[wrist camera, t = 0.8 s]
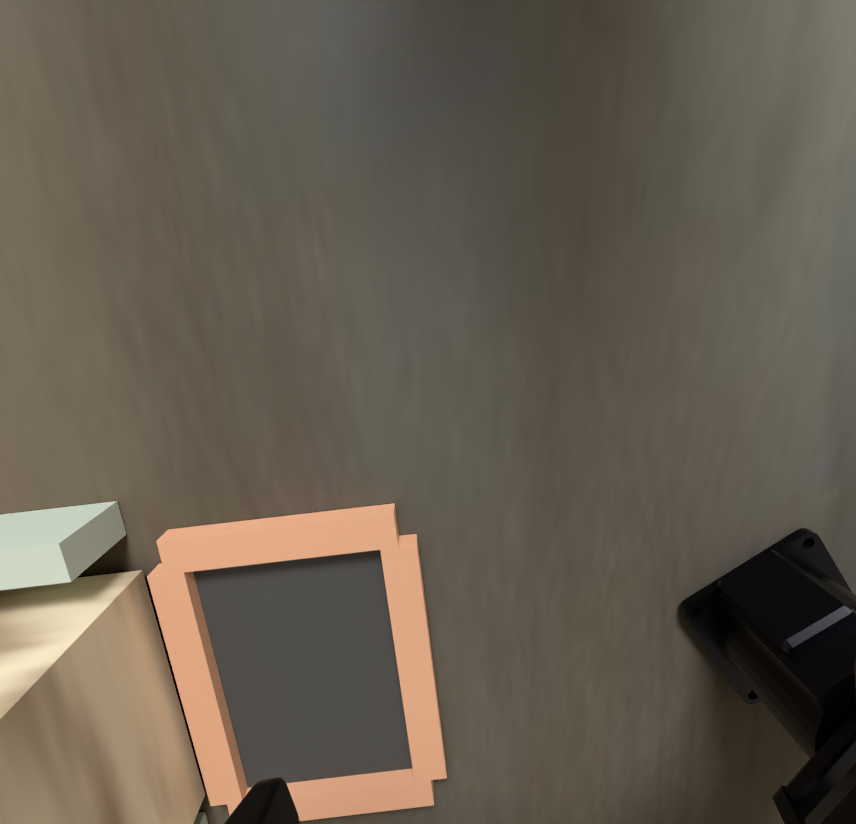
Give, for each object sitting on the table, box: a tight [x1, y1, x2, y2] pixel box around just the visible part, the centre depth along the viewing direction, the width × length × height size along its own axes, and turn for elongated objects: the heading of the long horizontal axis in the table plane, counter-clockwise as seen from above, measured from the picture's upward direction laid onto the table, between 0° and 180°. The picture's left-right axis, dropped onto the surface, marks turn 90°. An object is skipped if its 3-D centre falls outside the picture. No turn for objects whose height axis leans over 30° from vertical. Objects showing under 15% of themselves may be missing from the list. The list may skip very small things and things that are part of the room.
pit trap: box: [147, 503, 447, 821], centre depth 22 cm, size 11×15×1 cm
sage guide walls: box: [0, 501, 208, 824], centre depth 21 cm, size 9×18×4 cm, turn 7°
